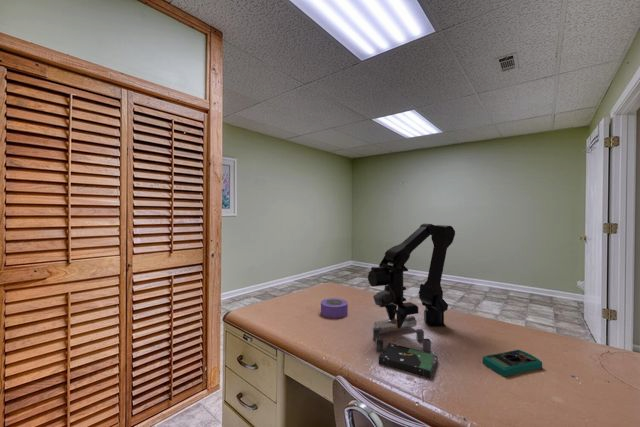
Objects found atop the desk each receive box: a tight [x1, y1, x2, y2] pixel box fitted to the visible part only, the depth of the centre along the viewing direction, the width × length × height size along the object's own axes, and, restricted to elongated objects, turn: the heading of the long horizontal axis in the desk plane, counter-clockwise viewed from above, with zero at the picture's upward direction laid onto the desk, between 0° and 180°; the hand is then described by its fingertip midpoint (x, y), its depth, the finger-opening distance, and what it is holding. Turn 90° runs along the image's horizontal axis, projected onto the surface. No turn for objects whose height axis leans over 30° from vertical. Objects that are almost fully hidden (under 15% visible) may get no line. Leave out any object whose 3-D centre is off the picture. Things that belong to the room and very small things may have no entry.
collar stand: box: [372, 327, 432, 353], centre depth 94 cm, size 17×10×4 cm, turn 86°
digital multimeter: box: [482, 349, 543, 377], centre depth 81 cm, size 7×15×3 cm, turn 106°
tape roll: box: [320, 297, 349, 319], centre depth 123 cm, size 12×12×5 cm
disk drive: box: [378, 342, 439, 380], centre depth 83 cm, size 10×3×15 cm
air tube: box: [373, 315, 418, 334], centre depth 104 cm, size 16×4×4 cm, turn 111°
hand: (395, 325), depth 104 cm, fingers closed on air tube, 4 cm apart
